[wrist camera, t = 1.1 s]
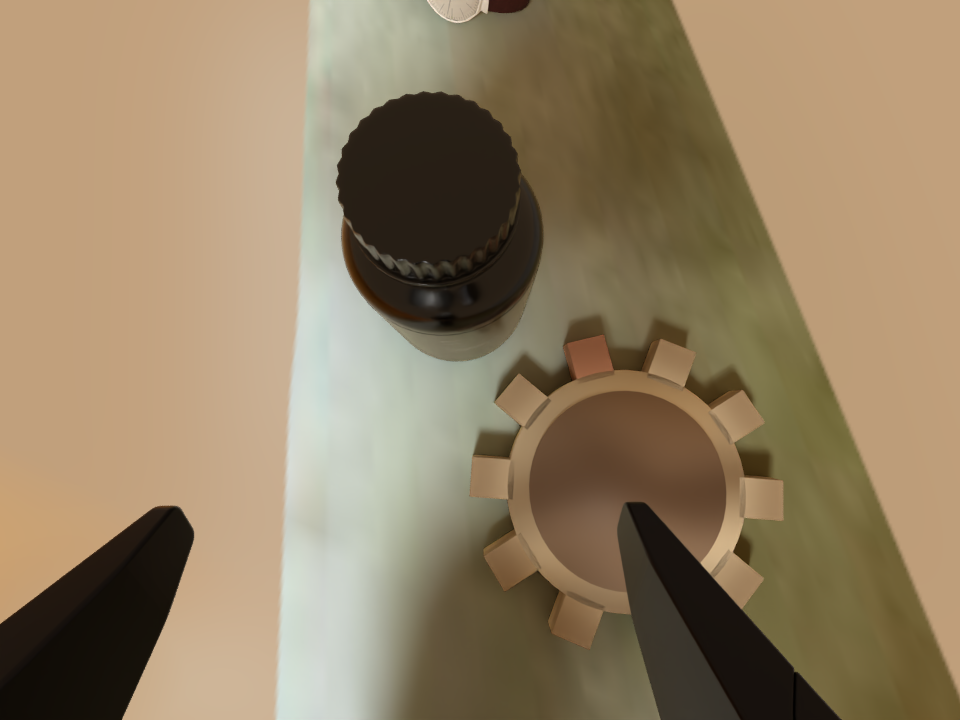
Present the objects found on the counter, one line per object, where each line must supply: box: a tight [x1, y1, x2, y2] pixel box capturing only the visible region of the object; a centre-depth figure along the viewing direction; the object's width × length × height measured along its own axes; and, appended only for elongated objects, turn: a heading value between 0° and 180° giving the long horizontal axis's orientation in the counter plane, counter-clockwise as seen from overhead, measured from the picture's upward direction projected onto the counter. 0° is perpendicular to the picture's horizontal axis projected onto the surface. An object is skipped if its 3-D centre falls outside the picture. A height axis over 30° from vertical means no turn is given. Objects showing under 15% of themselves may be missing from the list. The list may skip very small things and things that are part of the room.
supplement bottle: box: [336, 91, 543, 361], centre depth 18 cm, size 7×7×12 cm
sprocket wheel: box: [470, 334, 783, 650], centre depth 22 cm, size 14×14×1 cm
